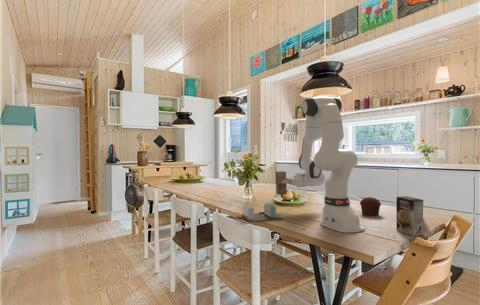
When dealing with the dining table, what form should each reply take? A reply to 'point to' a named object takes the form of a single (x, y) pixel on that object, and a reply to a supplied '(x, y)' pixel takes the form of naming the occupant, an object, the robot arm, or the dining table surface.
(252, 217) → the vise
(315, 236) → the dining table surface
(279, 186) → the walnut block
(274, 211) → the sliding jaw
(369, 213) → the muffin
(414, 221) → the coffee box
